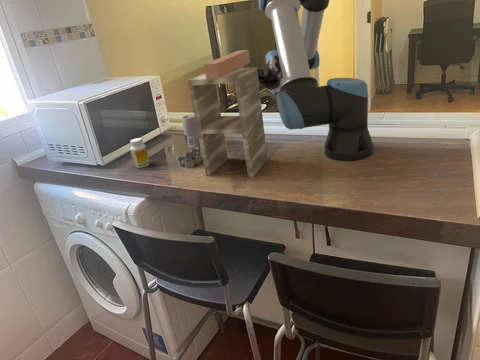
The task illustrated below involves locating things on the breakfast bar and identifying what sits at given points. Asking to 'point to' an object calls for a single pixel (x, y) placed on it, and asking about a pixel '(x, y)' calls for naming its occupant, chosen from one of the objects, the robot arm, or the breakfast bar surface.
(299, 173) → the breakfast bar surface
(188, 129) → the energy drink
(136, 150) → the supplement bottle
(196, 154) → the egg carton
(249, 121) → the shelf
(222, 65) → the bar
